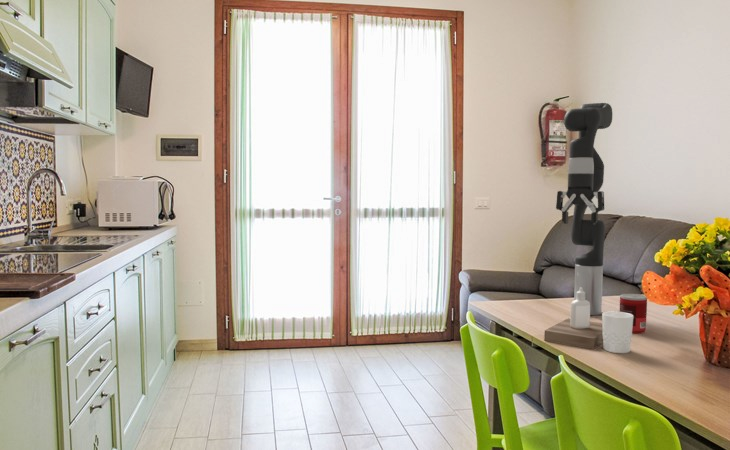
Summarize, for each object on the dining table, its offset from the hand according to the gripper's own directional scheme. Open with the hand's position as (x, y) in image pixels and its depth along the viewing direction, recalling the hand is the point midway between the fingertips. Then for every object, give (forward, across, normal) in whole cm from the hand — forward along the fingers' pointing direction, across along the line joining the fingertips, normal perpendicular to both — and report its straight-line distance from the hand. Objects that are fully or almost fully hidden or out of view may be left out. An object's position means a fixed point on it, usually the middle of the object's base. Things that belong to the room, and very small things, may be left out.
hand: (579, 224), depth 180 cm
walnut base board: (+33, -5, +12) cm, 36 cm away
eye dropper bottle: (+30, -5, +12) cm, 33 cm away
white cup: (+33, -17, +19) cm, 42 cm away
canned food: (+33, -15, -7) cm, 37 cm away
